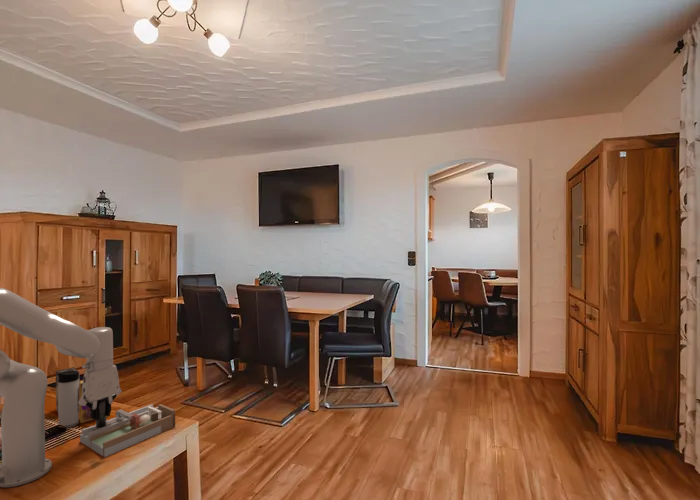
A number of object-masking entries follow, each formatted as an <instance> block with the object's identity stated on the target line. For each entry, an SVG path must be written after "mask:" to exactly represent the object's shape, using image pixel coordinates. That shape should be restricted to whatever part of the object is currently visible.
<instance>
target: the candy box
mask: <svg viewBox="0 0 700 500" xmlns="http://www.w3.org/2000/svg"><path fill="white" fill-rule="evenodd" d="M82 385H83V379H82V380H81V379H80V398H81V396H82ZM85 401H86V402H89V401H87V400H85ZM108 417H109V416H106V418H108ZM91 421H92V422H93V421H95V420H94V419H92V418H91V409H90V408H89V407H87V406H82V405H80V412H79V423H80V424H83V423H86V422H91Z"/></svg>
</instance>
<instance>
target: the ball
mask: <svg viewBox="0 0 700 500" xmlns="http://www.w3.org/2000/svg"><path fill="white" fill-rule="evenodd" d="M150 420H151V418H150V416H149V415H147V414H145V415H143V416H141V417H140V424H141V425H143V426H145V425H147V424H149V422H150Z"/></svg>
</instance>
